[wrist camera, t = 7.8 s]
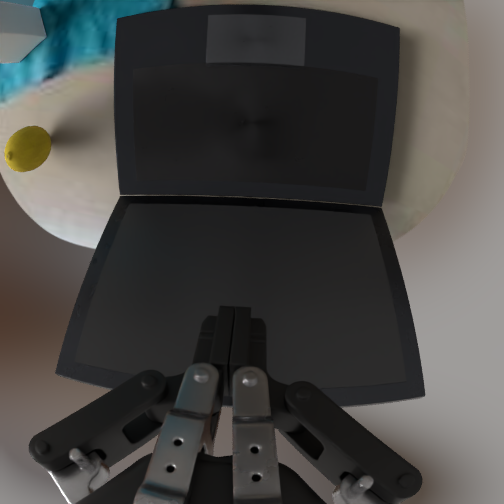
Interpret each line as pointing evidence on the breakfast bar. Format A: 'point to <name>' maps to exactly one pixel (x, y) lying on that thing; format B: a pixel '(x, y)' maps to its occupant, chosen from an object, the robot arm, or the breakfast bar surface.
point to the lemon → (27, 149)
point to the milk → (19, 31)
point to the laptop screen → (248, 294)
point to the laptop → (255, 103)
